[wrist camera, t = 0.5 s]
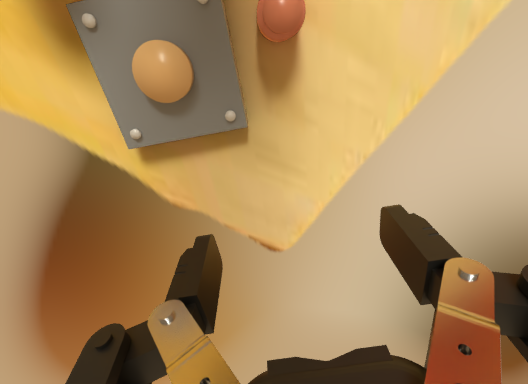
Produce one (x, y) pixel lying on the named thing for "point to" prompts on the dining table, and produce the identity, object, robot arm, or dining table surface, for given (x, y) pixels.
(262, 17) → the orange rounded knob
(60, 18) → the dining table surface
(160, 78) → the square plate with knob
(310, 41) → the dining table surface
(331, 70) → the dining table surface
